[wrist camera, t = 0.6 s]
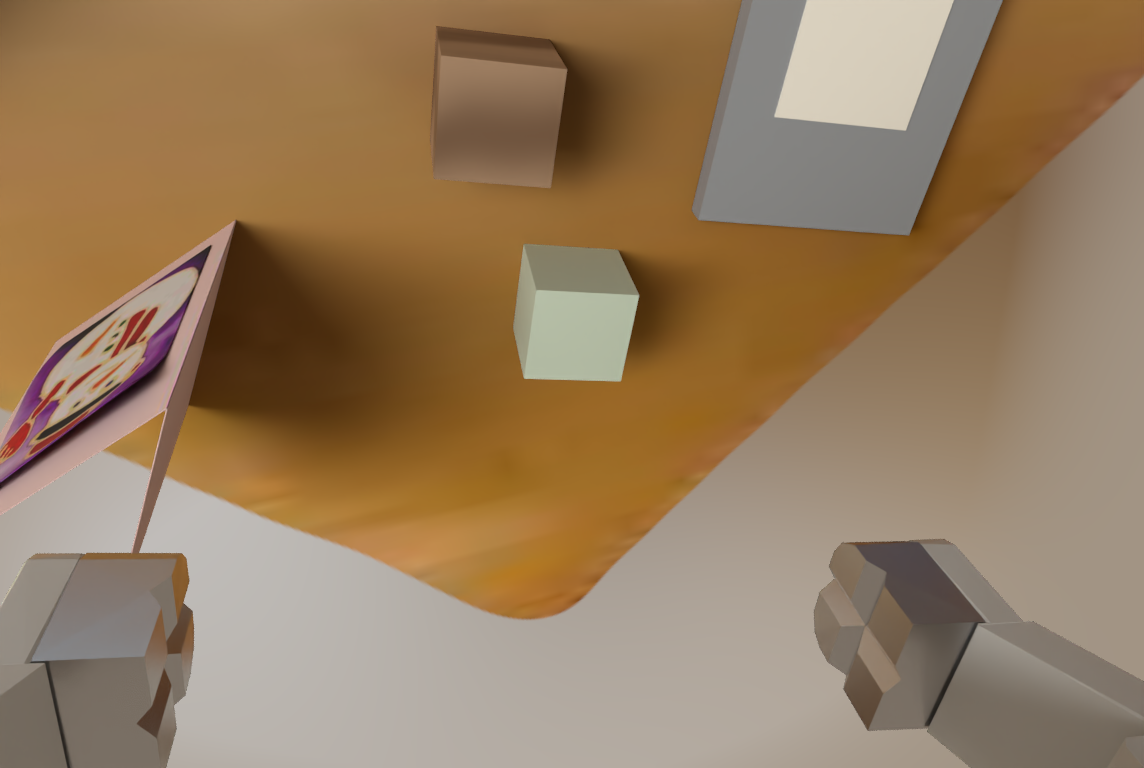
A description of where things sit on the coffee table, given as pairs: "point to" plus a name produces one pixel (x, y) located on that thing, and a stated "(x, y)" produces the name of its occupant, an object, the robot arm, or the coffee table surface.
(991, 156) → the coffee table surface
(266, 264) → the coffee table surface
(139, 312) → the greeting card
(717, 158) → the baseplate
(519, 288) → the sage green block
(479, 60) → the walnut block
